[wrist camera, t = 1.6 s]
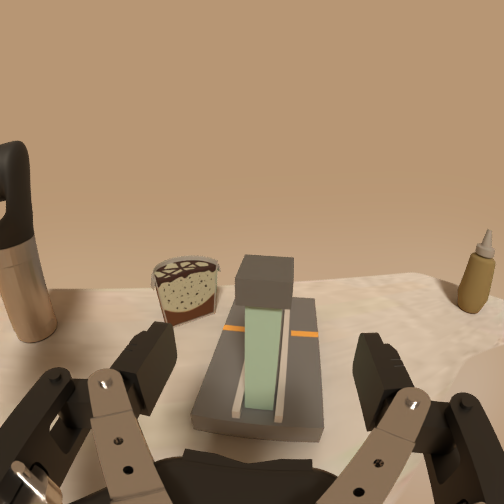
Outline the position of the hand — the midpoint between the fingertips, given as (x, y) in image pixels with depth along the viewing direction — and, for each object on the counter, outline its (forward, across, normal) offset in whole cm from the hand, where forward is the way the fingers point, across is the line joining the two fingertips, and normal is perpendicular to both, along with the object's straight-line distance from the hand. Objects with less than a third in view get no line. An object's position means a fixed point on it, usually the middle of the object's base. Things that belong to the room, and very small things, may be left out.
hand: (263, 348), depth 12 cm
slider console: (+24, 0, +20) cm, 31 cm away
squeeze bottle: (+39, -44, +20) cm, 62 cm away
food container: (+34, +16, +19) cm, 42 cm away
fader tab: (+14, +1, +17) cm, 22 cm away
